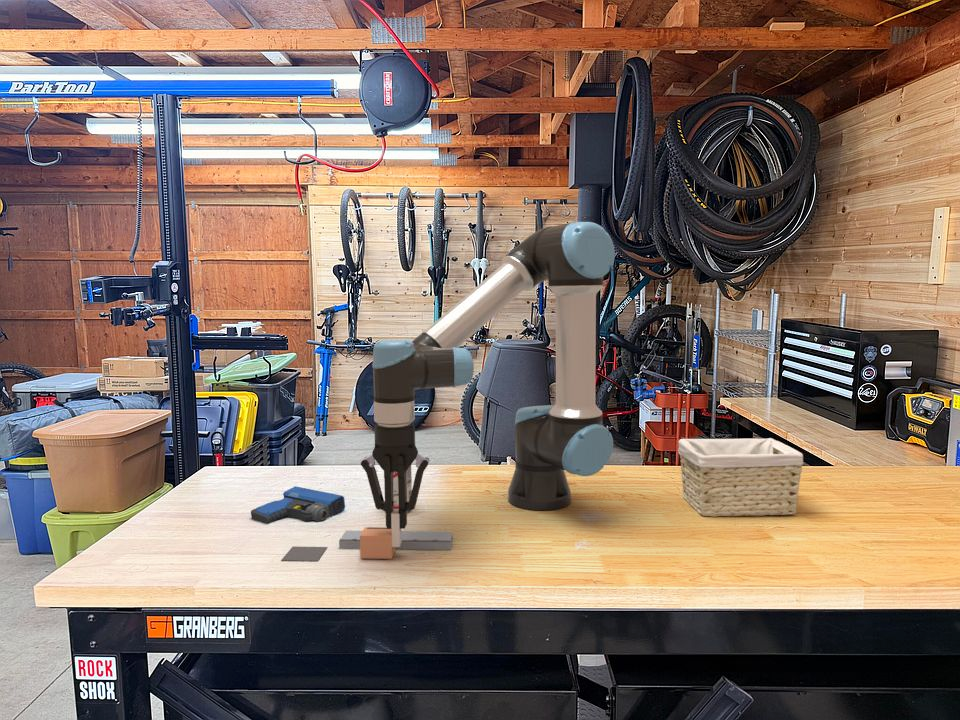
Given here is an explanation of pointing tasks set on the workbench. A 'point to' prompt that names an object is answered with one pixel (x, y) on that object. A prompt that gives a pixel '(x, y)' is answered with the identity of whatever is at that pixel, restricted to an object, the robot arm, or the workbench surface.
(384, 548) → the block
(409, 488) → the beer can
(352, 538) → the long grey bar
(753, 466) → the storage basket
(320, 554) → the mat
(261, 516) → the stun gun
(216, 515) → the workbench surface
